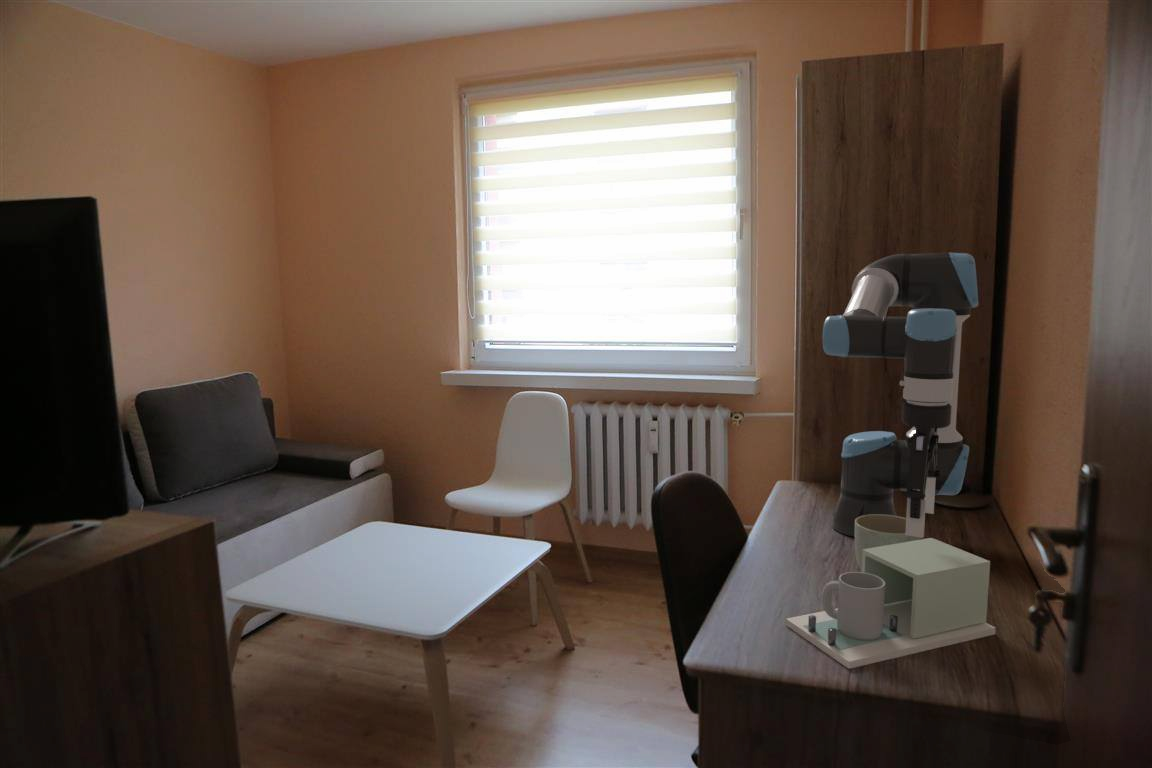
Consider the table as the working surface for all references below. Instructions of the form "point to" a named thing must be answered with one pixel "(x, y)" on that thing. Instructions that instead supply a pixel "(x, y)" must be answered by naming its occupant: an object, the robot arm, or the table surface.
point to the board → (881, 637)
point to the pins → (833, 631)
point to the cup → (857, 604)
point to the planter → (879, 532)
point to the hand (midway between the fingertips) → (920, 523)
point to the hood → (932, 583)
